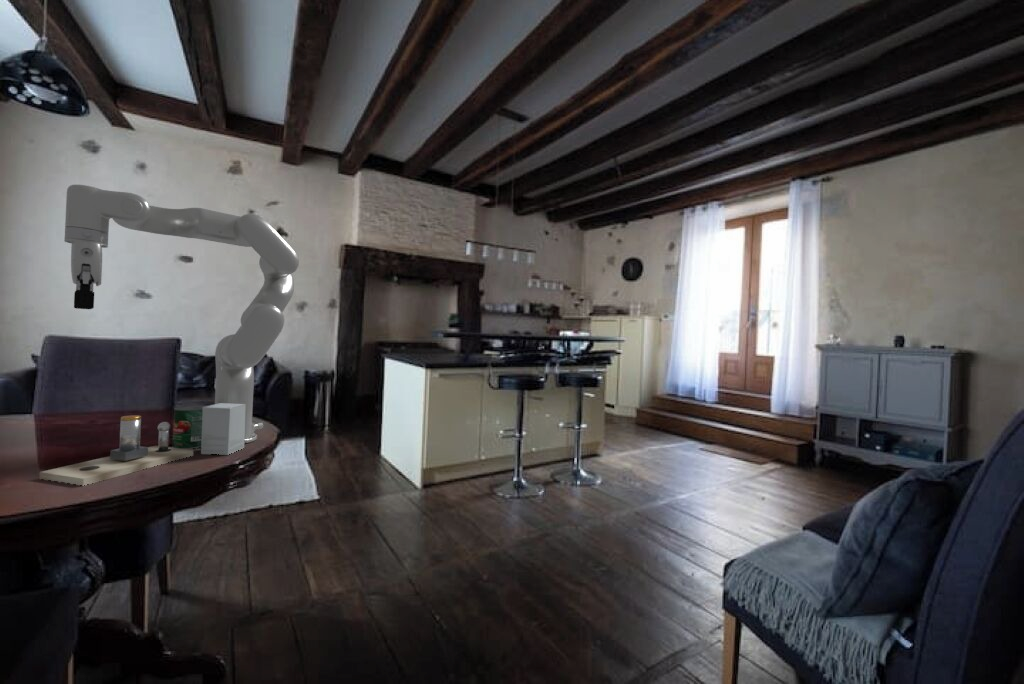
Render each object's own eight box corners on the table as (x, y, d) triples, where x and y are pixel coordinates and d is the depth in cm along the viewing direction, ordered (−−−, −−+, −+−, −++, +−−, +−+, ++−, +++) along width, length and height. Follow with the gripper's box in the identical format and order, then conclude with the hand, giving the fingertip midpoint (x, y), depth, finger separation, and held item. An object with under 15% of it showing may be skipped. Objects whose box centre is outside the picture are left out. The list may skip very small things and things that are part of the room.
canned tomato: (164, 449, 116) (166, 408, 116) (186, 442, 124) (188, 404, 123) (194, 450, 116) (196, 409, 116) (214, 443, 124) (215, 405, 124)
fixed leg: (164, 448, 111) (165, 420, 111) (172, 449, 110) (173, 421, 110) (153, 451, 108) (155, 422, 108) (162, 452, 108) (163, 423, 108)
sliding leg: (133, 453, 104) (135, 414, 104) (147, 455, 103) (149, 415, 103) (110, 458, 99) (111, 417, 99) (125, 460, 99) (126, 419, 98)
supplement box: (245, 448, 120) (247, 403, 120) (227, 455, 112) (229, 408, 112) (218, 447, 120) (220, 402, 120) (199, 454, 112) (201, 406, 112)
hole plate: (156, 451, 113) (156, 445, 113) (193, 455, 111) (193, 449, 111) (39, 479, 90) (39, 471, 90) (83, 486, 87) (83, 478, 87)
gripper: (110, 237, 101) (106, 309, 101) (105, 245, 113) (102, 310, 113) (64, 230, 96) (60, 306, 96) (64, 239, 108) (61, 307, 108)
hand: (83, 308), depth 104 cm, fingers open, 9 cm apart
